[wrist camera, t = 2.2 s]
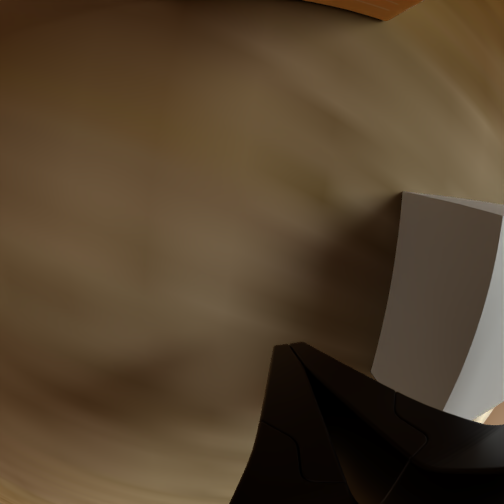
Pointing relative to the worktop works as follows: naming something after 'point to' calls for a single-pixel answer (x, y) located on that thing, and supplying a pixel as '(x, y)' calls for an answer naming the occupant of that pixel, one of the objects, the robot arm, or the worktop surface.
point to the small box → (372, 6)
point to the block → (446, 306)
